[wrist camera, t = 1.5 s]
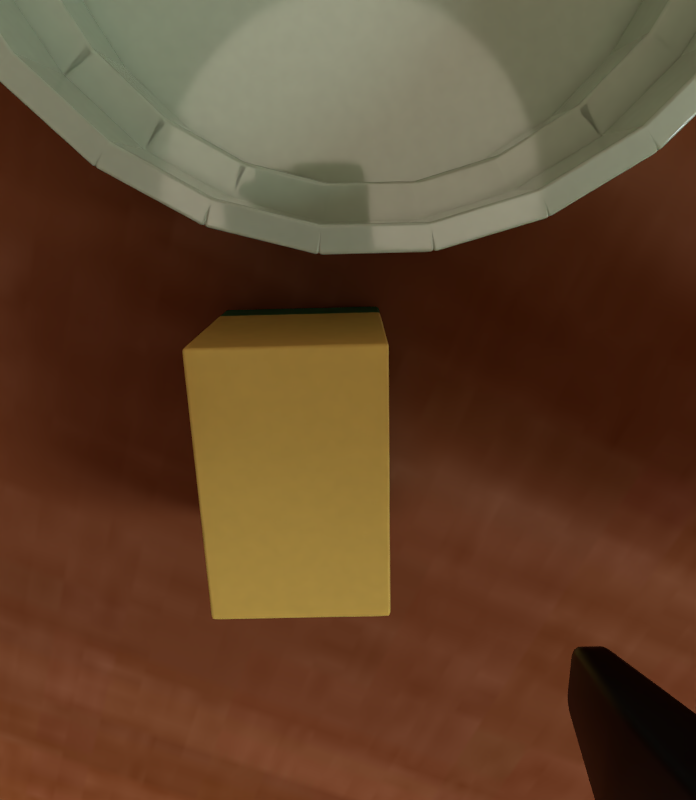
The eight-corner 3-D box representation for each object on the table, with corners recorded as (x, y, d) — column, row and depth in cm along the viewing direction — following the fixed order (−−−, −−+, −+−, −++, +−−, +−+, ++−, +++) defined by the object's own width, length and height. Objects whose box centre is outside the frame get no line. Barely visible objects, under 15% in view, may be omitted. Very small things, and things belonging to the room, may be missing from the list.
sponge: (378, 306, 18) (389, 343, 13) (380, 519, 20) (390, 617, 15) (225, 309, 18) (180, 348, 13) (244, 522, 20) (211, 620, 16)
